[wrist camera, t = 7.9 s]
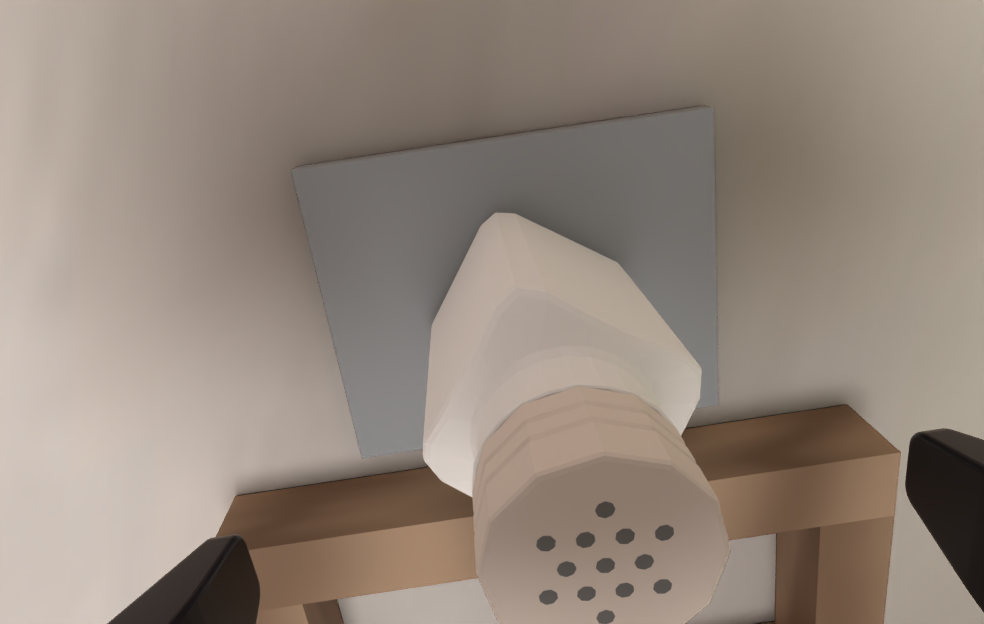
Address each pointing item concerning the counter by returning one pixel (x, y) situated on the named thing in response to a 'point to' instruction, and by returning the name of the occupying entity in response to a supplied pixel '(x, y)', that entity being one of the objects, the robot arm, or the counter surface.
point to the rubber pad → (474, 199)
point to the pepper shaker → (570, 436)
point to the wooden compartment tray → (717, 451)
